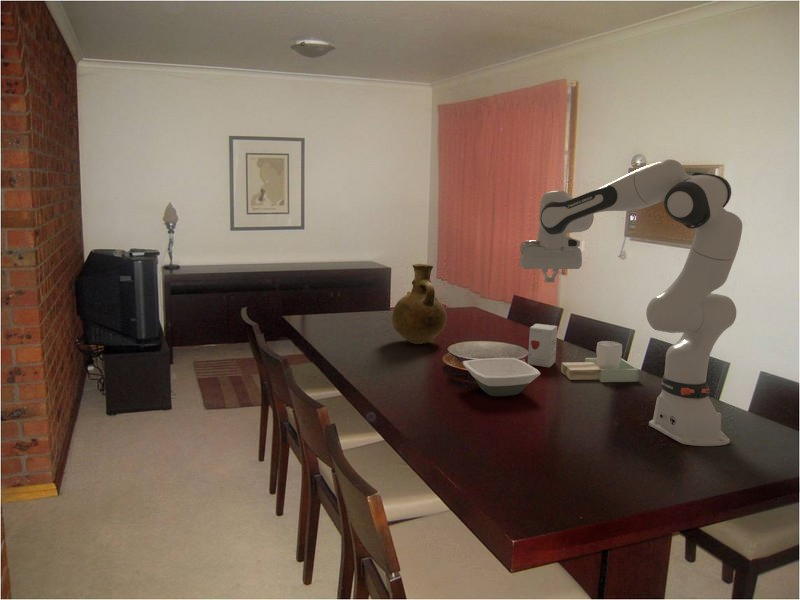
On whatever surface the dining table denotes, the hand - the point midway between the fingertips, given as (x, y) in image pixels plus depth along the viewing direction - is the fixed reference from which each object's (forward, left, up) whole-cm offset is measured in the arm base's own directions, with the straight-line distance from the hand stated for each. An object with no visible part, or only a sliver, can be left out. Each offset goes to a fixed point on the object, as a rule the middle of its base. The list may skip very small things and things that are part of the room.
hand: (549, 282), depth 209 cm
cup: (+15, -29, -37) cm, 50 cm away
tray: (+15, -30, -37) cm, 50 cm away
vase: (+66, +36, -37) cm, 84 cm away
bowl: (-1, +16, -37) cm, 41 cm away
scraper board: (+15, -19, -38) cm, 45 cm away
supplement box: (+32, -9, -37) cm, 50 cm away
